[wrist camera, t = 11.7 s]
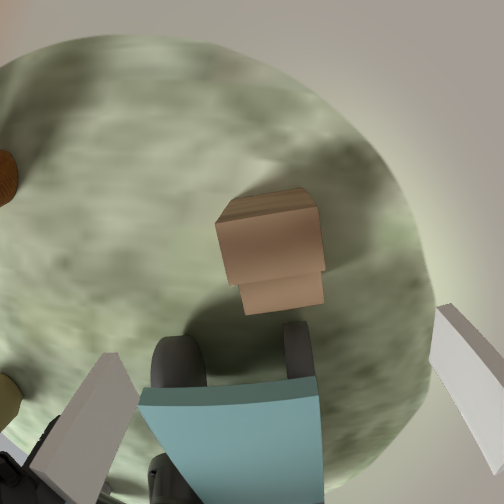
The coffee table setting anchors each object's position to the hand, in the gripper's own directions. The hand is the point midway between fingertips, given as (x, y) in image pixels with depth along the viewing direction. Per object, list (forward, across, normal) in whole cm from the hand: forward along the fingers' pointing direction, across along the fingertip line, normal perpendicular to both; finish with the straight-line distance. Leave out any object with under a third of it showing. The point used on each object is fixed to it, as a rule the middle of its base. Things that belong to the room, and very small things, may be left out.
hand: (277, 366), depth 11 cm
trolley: (+16, +4, +17) cm, 24 cm away
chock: (+16, 0, 0) cm, 16 cm away
